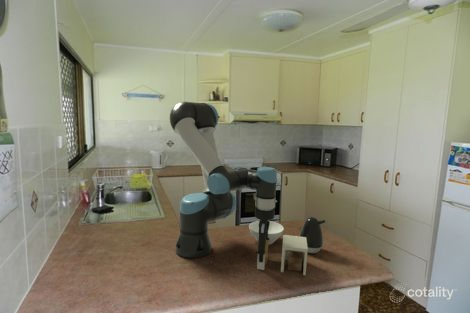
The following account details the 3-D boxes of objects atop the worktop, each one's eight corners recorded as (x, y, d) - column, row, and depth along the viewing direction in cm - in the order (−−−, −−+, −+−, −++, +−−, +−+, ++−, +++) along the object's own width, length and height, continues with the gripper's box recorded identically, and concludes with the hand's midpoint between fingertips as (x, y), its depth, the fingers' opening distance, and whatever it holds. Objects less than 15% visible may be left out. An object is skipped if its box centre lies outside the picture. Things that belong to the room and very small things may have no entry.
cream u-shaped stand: (280, 271, 105) (282, 246, 104) (281, 258, 115) (283, 234, 114) (305, 275, 104) (307, 249, 102) (304, 261, 114) (306, 237, 112)
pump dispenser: (324, 257, 117) (327, 222, 115) (298, 254, 119) (300, 220, 117) (321, 247, 127) (324, 214, 125) (298, 244, 129) (300, 212, 127)
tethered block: (256, 265, 109) (257, 243, 108) (257, 258, 114) (258, 237, 113) (301, 271, 106) (302, 248, 105) (300, 264, 111) (302, 243, 110)
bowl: (260, 252, 120) (260, 236, 119) (242, 237, 134) (242, 223, 133) (290, 245, 128) (291, 230, 127) (269, 232, 142) (270, 218, 141)
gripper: (273, 218, 97) (269, 279, 100) (276, 200, 119) (273, 250, 122) (251, 216, 98) (248, 276, 101) (258, 198, 120) (256, 248, 123)
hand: (262, 262), depth 111 cm, fingers open, 10 cm apart
